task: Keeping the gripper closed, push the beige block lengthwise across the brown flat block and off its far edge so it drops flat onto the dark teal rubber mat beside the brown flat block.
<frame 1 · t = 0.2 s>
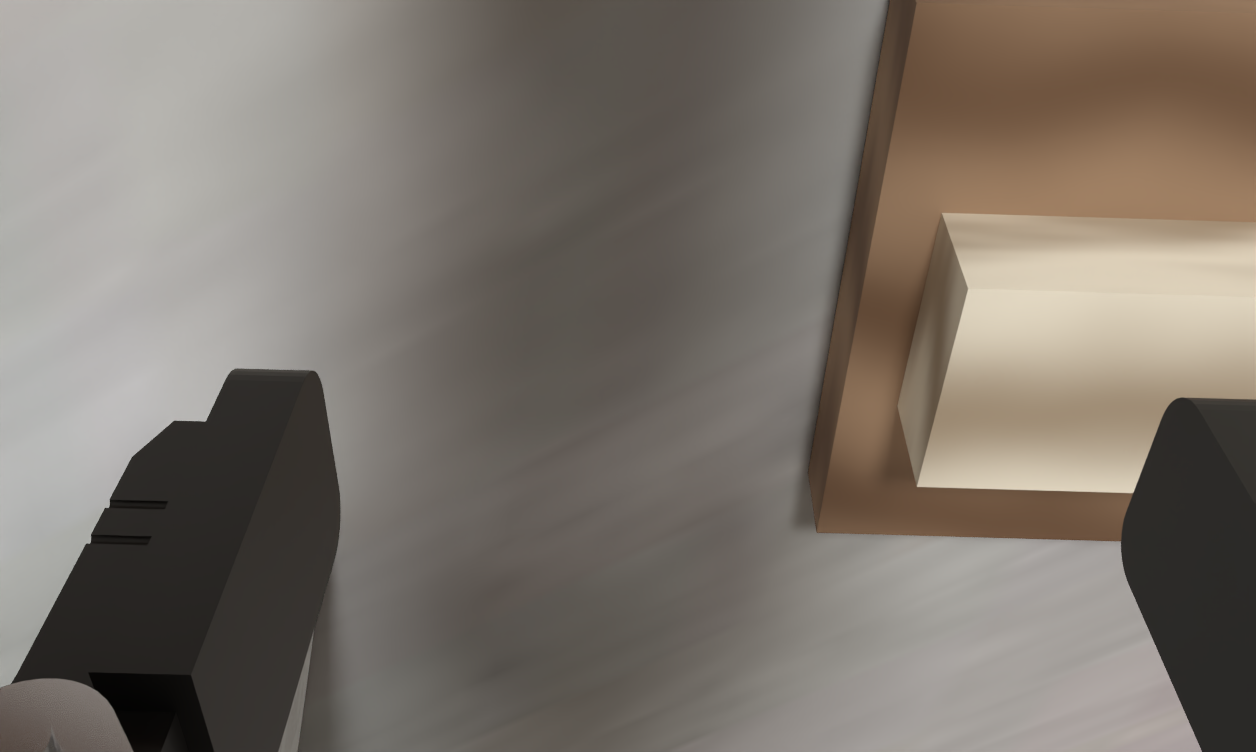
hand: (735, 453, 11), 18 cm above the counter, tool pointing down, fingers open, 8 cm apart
brown flat block: (1108, 264, 31), on the counter
beige block: (1098, 321, 30), point 2 cm above the counter, touching brown flat block
skincare box: (234, 679, 44), on the counter
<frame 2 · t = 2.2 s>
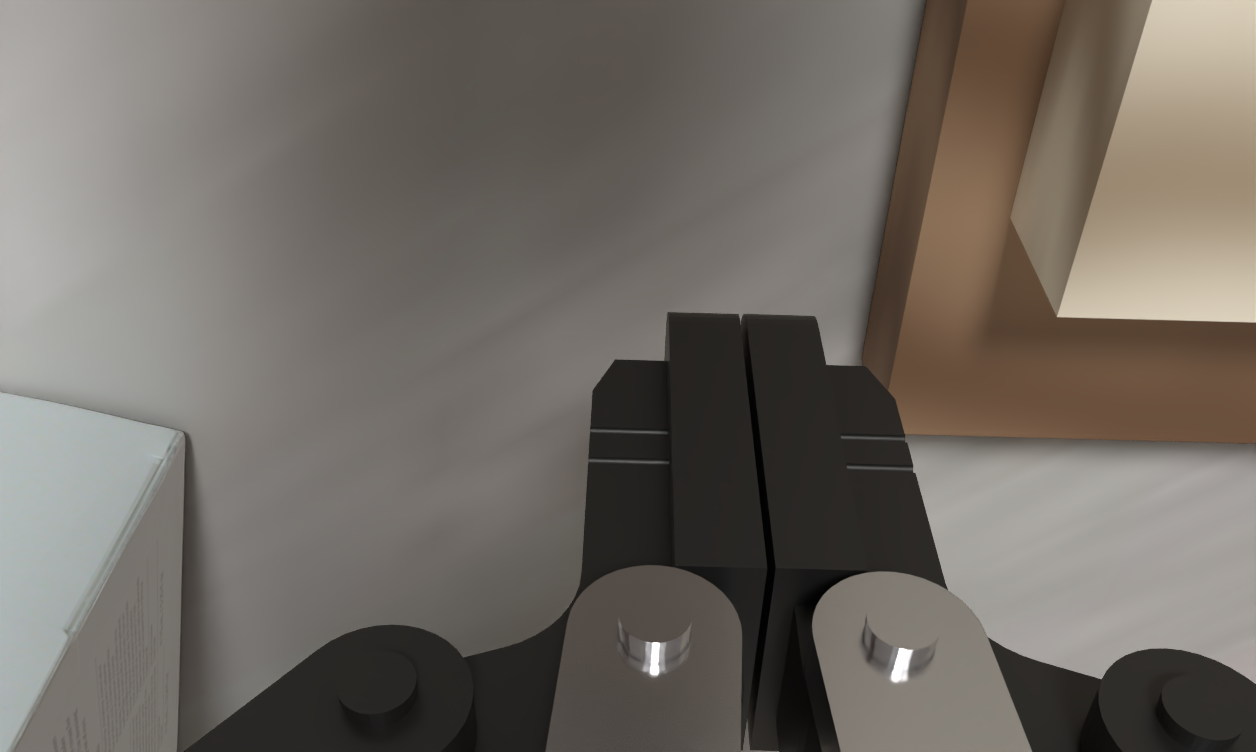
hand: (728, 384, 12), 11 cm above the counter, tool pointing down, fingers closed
skincare box: (84, 673, 33), on the counter
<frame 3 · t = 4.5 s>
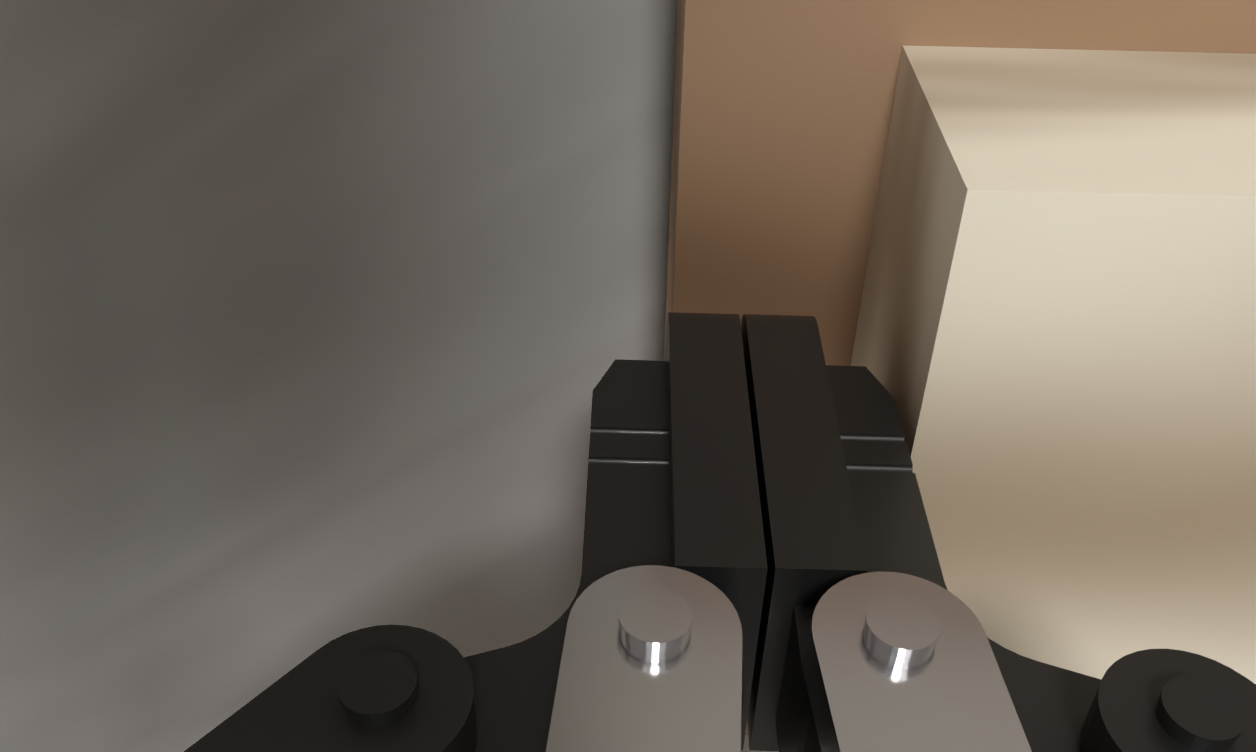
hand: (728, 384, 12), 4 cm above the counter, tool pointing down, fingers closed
brown flat block: (1205, 203, 15), on the counter
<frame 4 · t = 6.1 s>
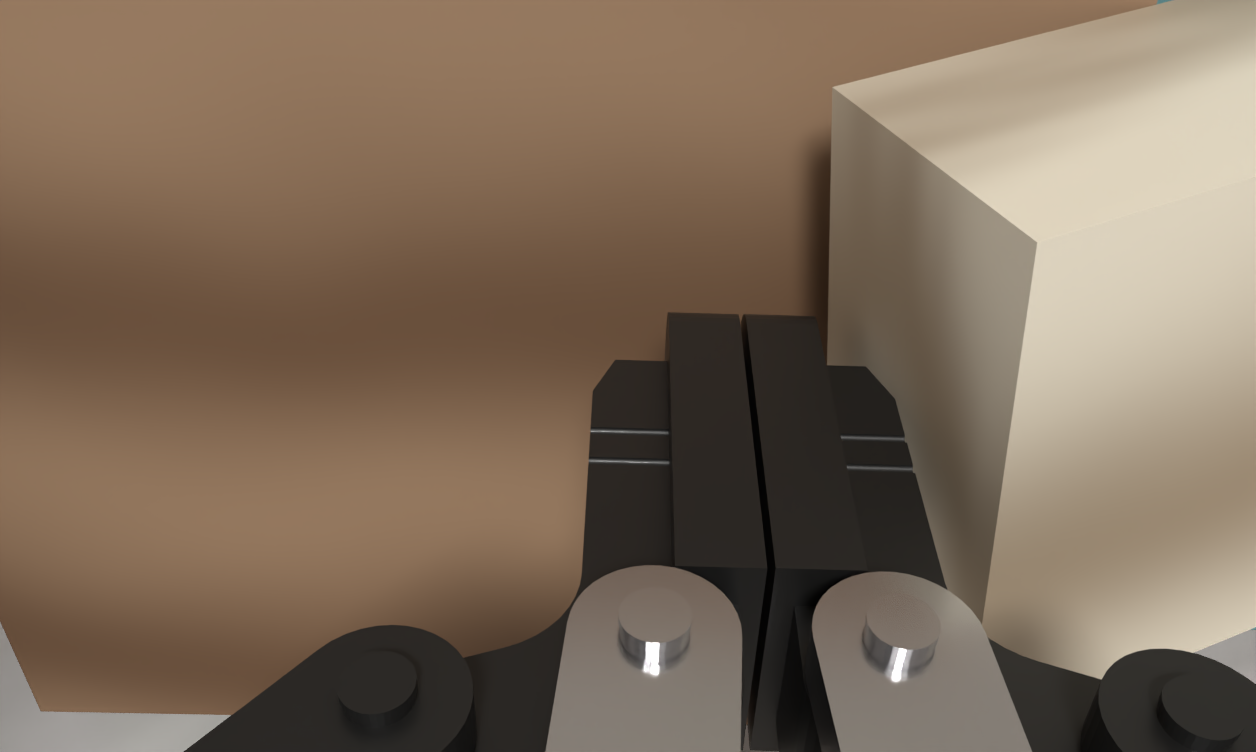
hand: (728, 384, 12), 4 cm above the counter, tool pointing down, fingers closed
brown flat block: (481, 176, 15), on the counter
beige block: (1179, 243, 14), point 2 cm above the counter, tilted 21°, touching gripper, mat
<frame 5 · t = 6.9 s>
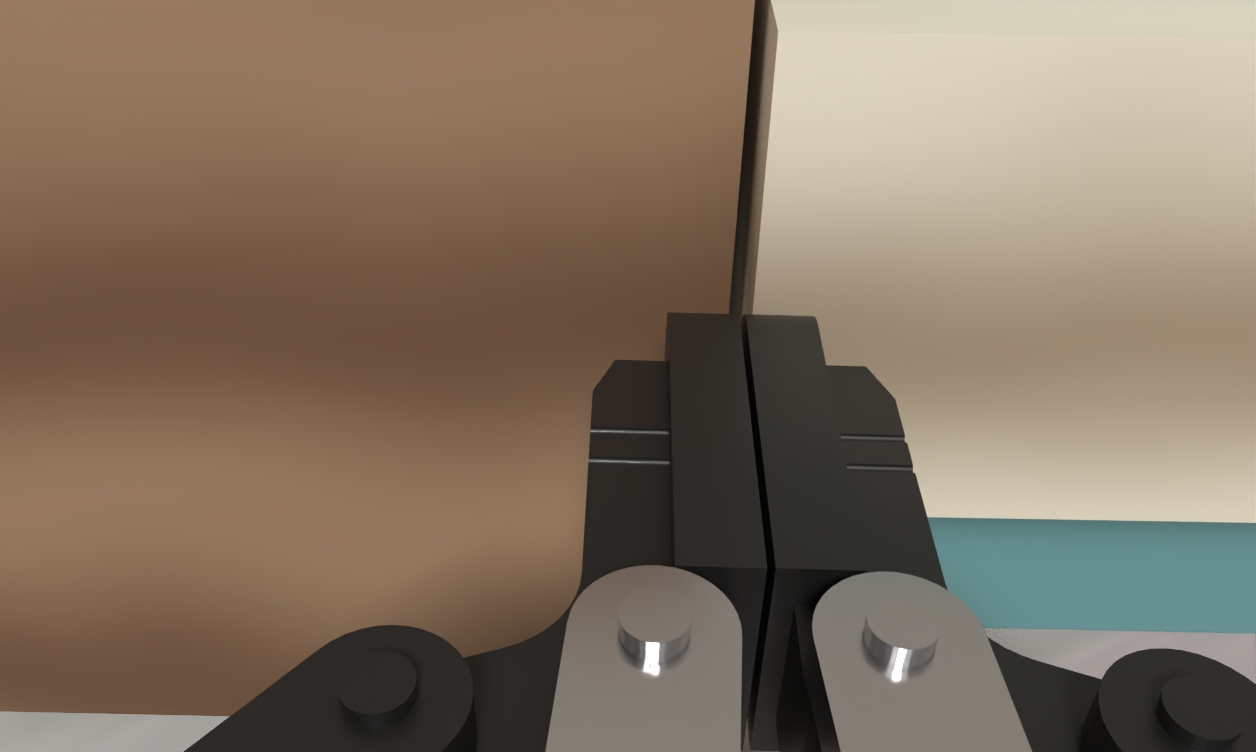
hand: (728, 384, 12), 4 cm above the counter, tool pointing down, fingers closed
brown flat block: (182, 172, 15), on the counter
beige block: (1093, 180, 15), resting on mat
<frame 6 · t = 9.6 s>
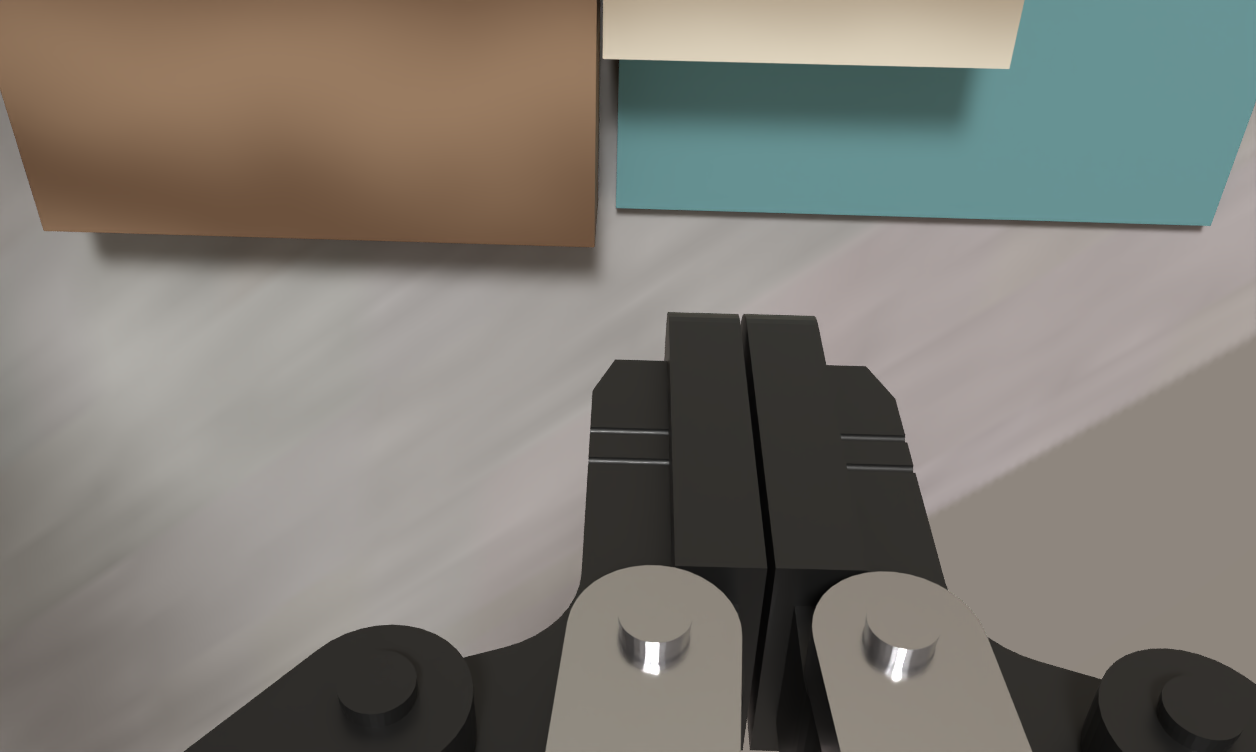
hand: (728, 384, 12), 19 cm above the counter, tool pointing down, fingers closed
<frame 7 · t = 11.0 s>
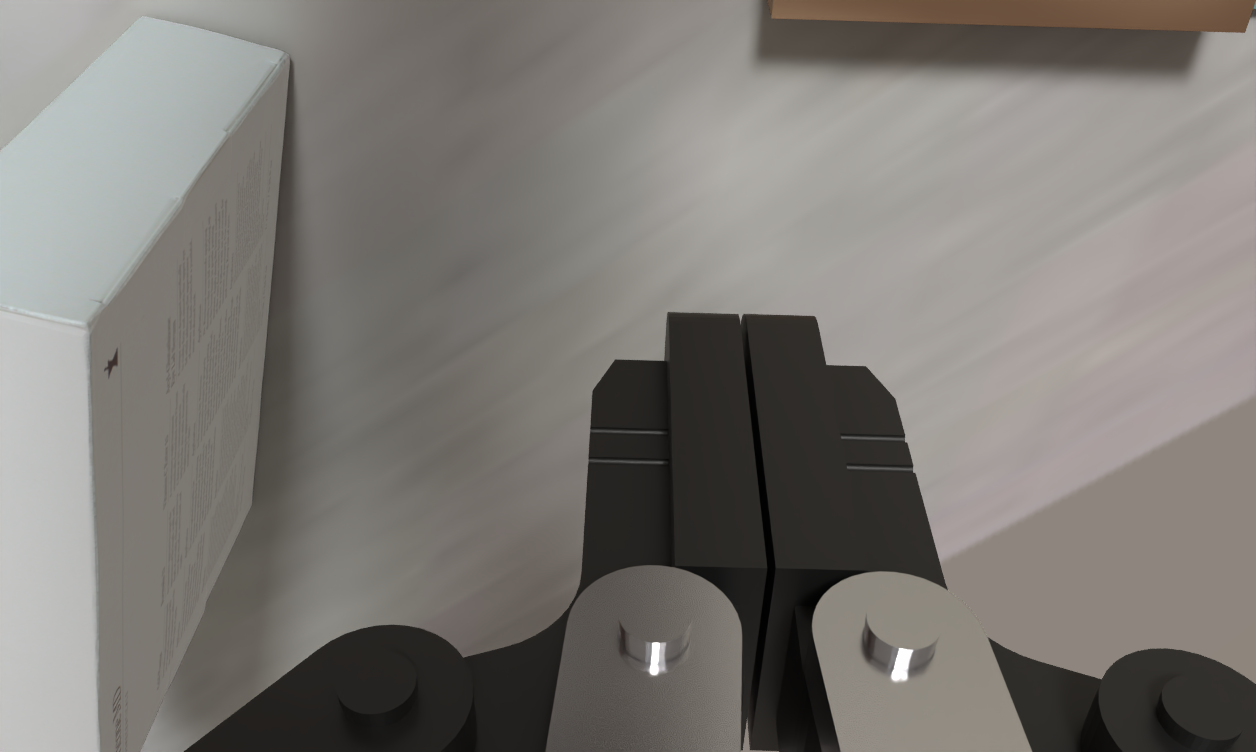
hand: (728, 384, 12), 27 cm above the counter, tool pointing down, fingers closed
skincare box: (198, 290, 44), on the counter
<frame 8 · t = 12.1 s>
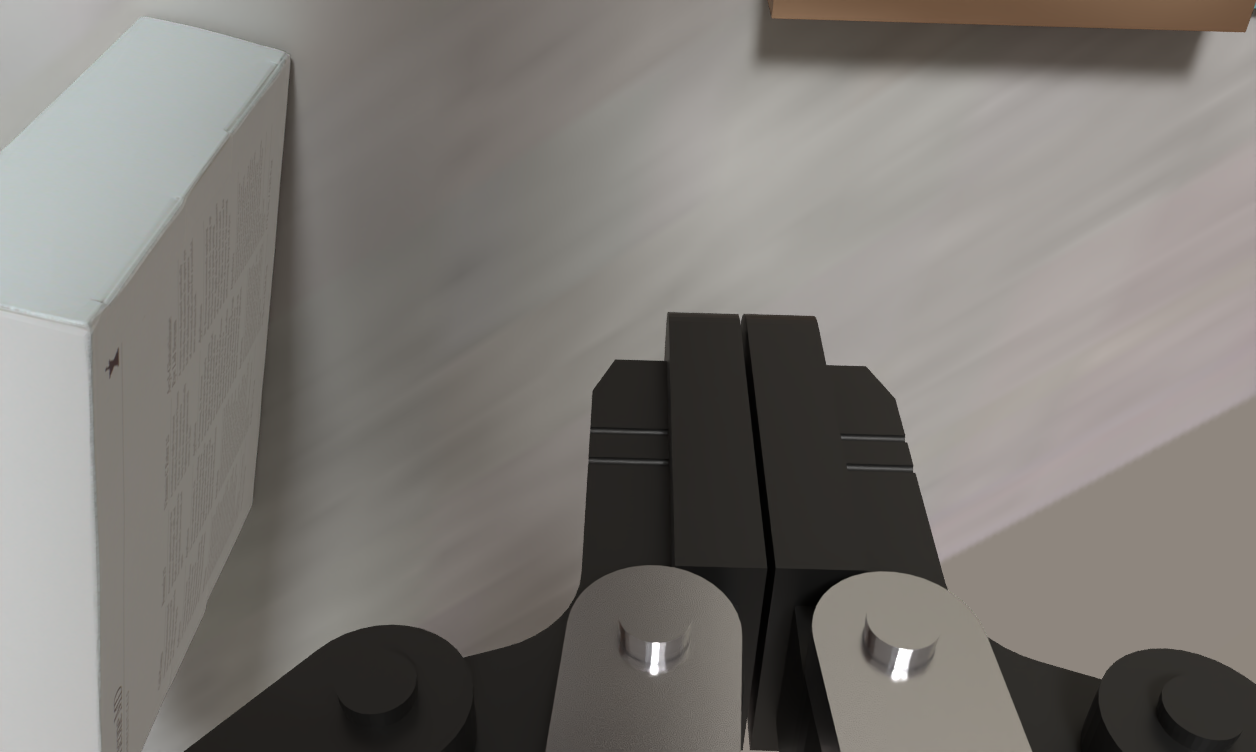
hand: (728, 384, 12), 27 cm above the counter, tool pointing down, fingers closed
skincare box: (199, 290, 44), on the counter
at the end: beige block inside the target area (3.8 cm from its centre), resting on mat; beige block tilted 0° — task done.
